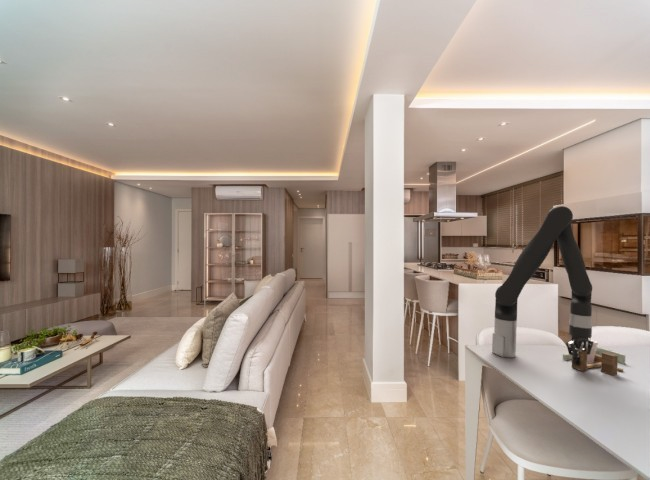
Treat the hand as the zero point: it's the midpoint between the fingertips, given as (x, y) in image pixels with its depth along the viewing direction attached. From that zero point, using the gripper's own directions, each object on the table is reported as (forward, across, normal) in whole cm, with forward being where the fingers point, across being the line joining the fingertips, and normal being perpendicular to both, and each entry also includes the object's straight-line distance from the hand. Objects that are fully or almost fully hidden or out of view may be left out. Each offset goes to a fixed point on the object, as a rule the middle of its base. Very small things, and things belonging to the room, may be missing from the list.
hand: (579, 364), depth 132 cm
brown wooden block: (+2, -12, +6) cm, 14 cm away
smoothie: (+2, -14, -5) cm, 15 cm away
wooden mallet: (+2, -8, -3) cm, 9 cm away
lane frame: (+2, -17, -5) cm, 18 cm away
